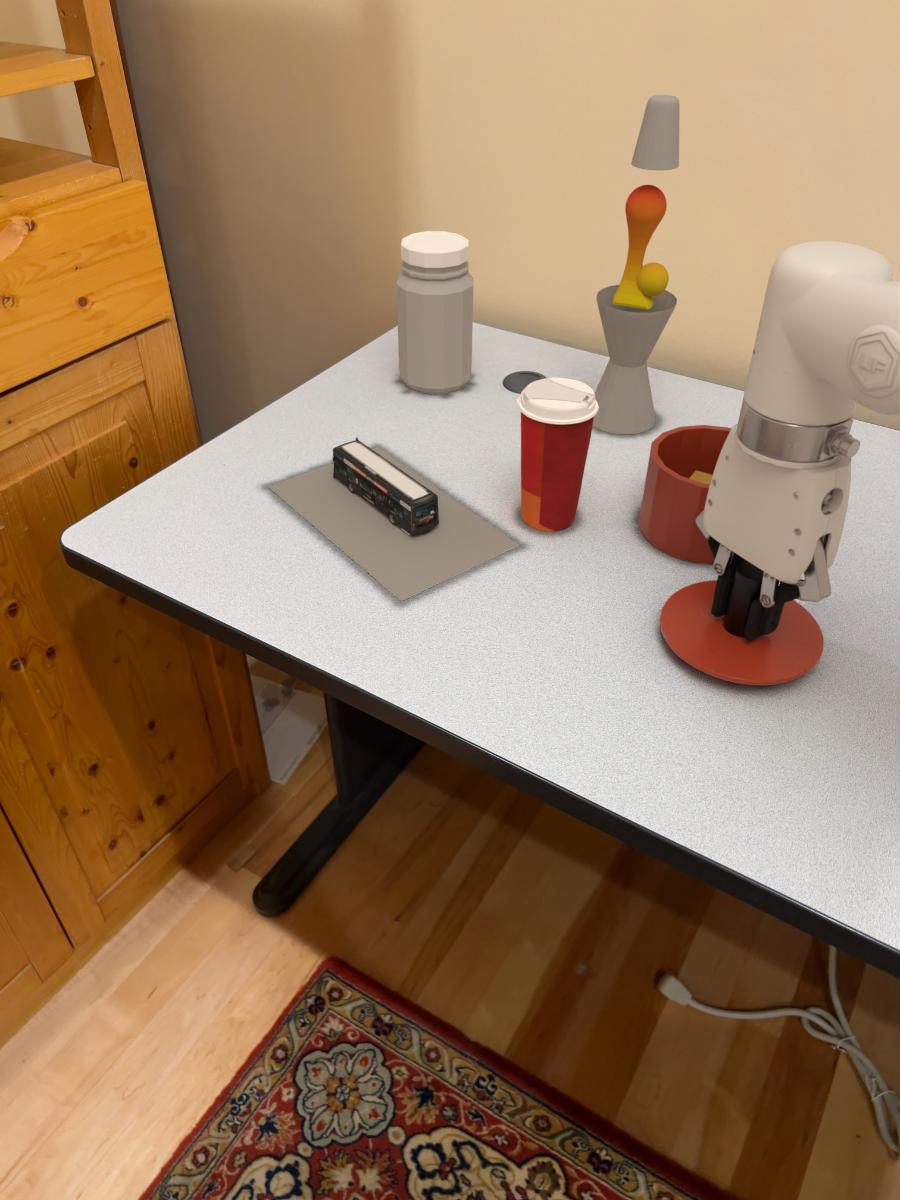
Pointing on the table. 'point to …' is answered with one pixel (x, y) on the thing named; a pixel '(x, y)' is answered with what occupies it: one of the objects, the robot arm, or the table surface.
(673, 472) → the pot
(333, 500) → the flat grey placemat
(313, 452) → the table surface
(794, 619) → the lid
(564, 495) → the paper cup
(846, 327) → the robot arm
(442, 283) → the jar
